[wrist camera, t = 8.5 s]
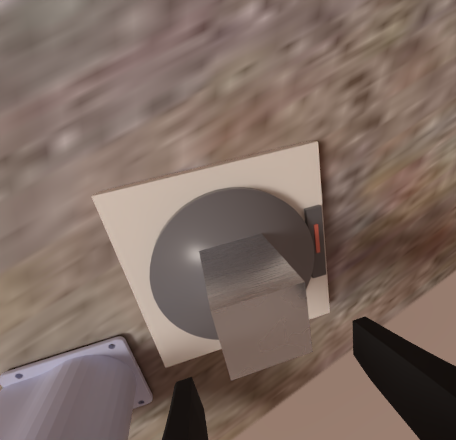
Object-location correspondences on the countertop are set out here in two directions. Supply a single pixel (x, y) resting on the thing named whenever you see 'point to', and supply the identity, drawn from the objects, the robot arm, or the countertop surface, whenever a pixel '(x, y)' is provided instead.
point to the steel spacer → (255, 305)
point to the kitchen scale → (214, 236)
